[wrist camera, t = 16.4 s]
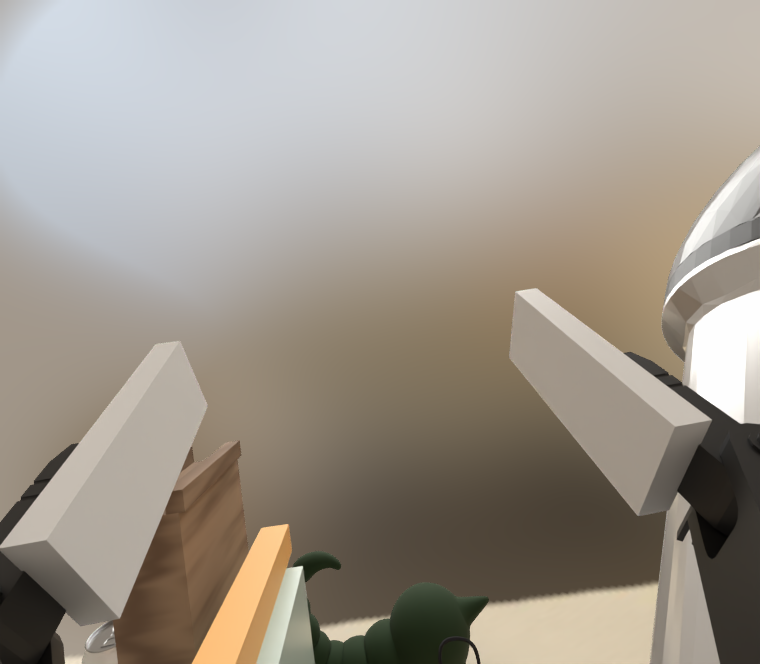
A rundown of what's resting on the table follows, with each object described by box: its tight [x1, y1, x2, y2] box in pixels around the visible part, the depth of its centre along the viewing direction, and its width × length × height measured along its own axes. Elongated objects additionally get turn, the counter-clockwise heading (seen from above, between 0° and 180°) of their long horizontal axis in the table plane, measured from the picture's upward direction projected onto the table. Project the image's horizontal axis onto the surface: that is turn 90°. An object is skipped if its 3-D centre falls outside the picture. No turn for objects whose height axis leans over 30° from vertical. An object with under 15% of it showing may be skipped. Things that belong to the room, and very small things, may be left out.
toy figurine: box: [292, 551, 489, 664], centre depth 44 cm, size 9×19×25 cm
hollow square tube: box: [192, 524, 292, 664], centre depth 27 cm, size 3×23×3 cm, turn 3°
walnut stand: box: [113, 441, 249, 664], centre depth 36 cm, size 7×15×32 cm, turn 3°
